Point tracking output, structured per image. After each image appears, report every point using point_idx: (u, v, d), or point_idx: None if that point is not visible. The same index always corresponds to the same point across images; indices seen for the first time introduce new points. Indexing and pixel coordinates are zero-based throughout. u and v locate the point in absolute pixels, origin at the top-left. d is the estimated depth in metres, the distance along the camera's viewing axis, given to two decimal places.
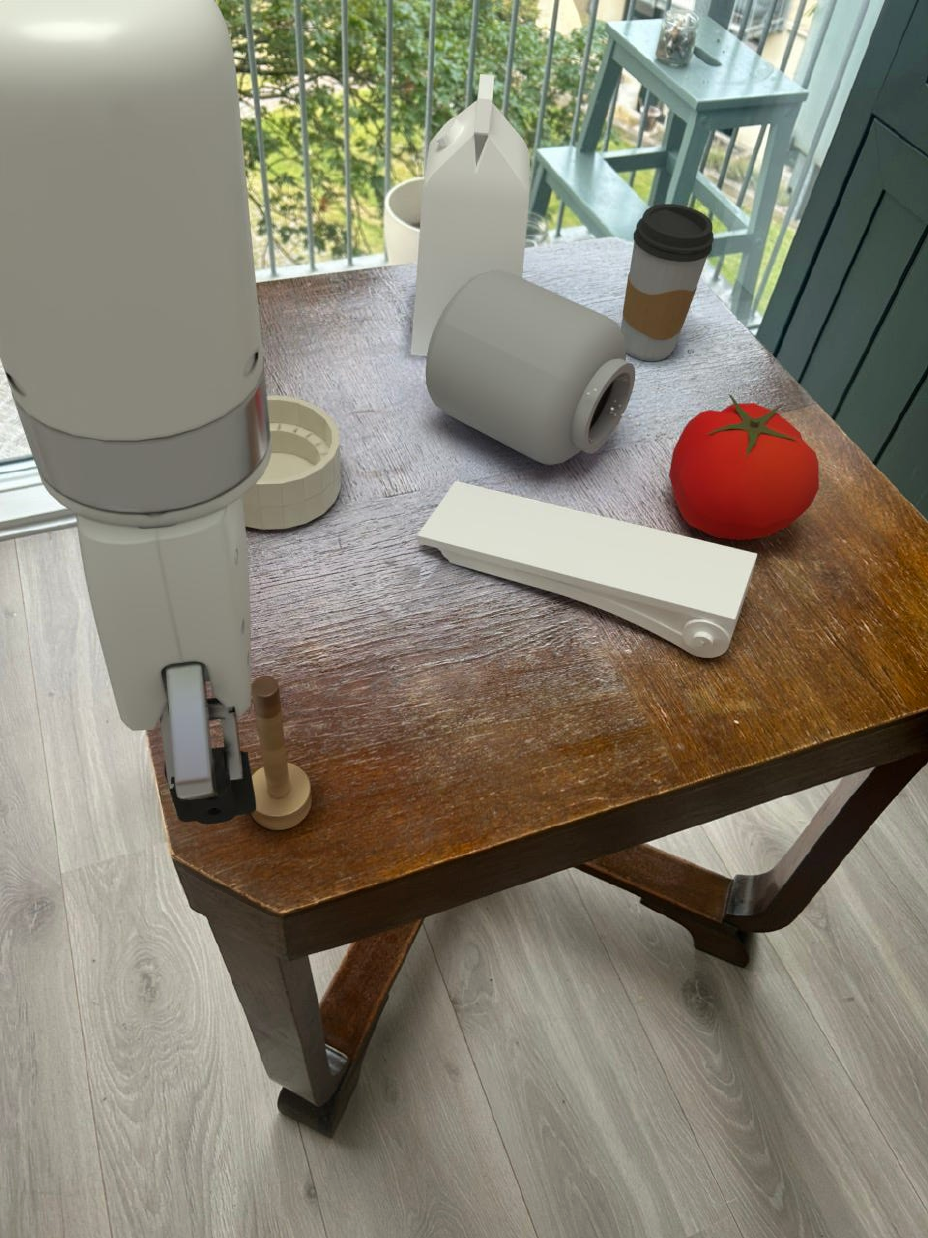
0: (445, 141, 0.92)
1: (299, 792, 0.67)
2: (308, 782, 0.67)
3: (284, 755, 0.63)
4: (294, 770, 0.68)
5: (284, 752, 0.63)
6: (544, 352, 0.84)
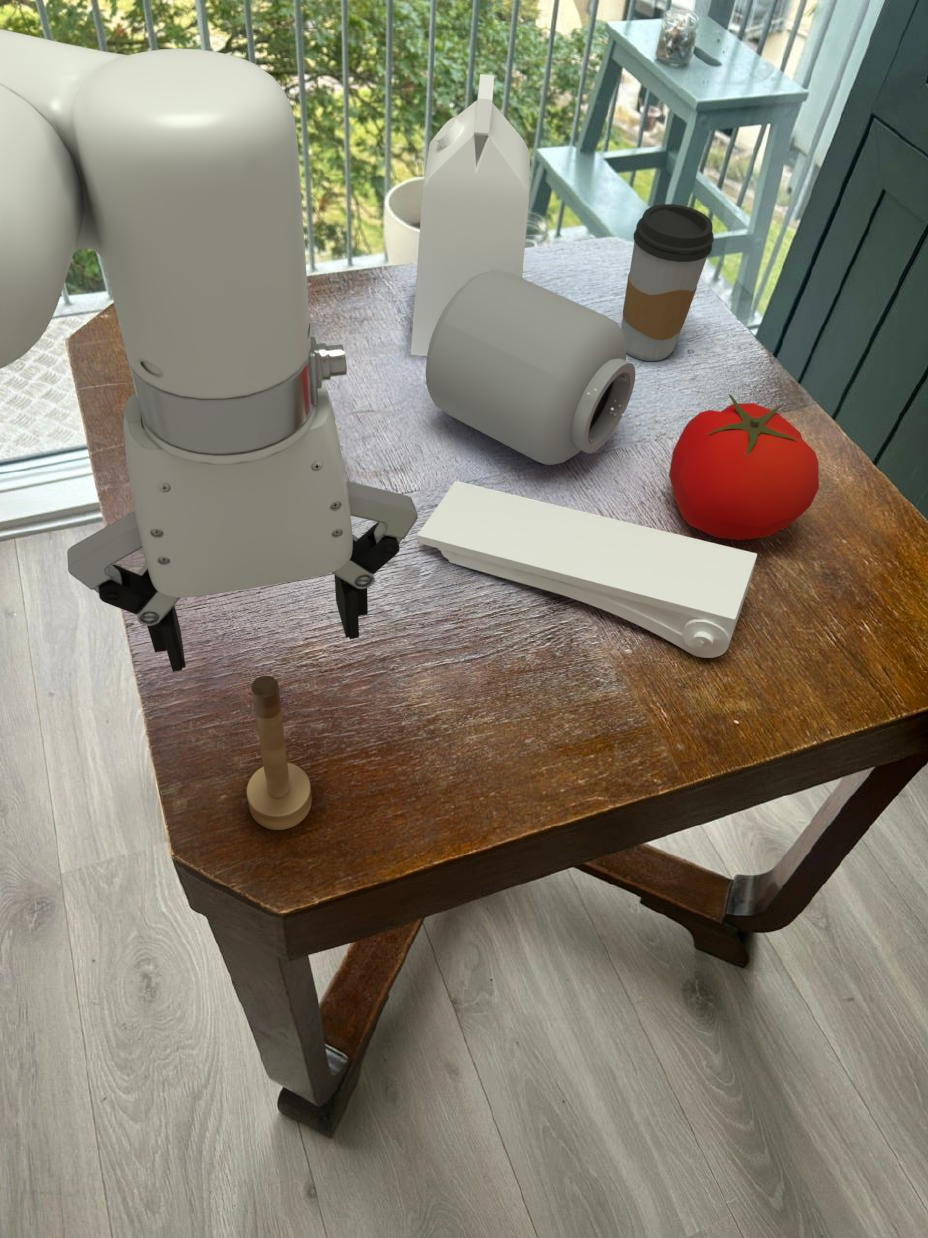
0: (445, 141, 0.92)
1: (299, 792, 0.67)
2: (308, 782, 0.67)
3: (284, 755, 0.63)
4: (294, 770, 0.68)
5: (284, 752, 0.63)
6: (544, 352, 0.84)
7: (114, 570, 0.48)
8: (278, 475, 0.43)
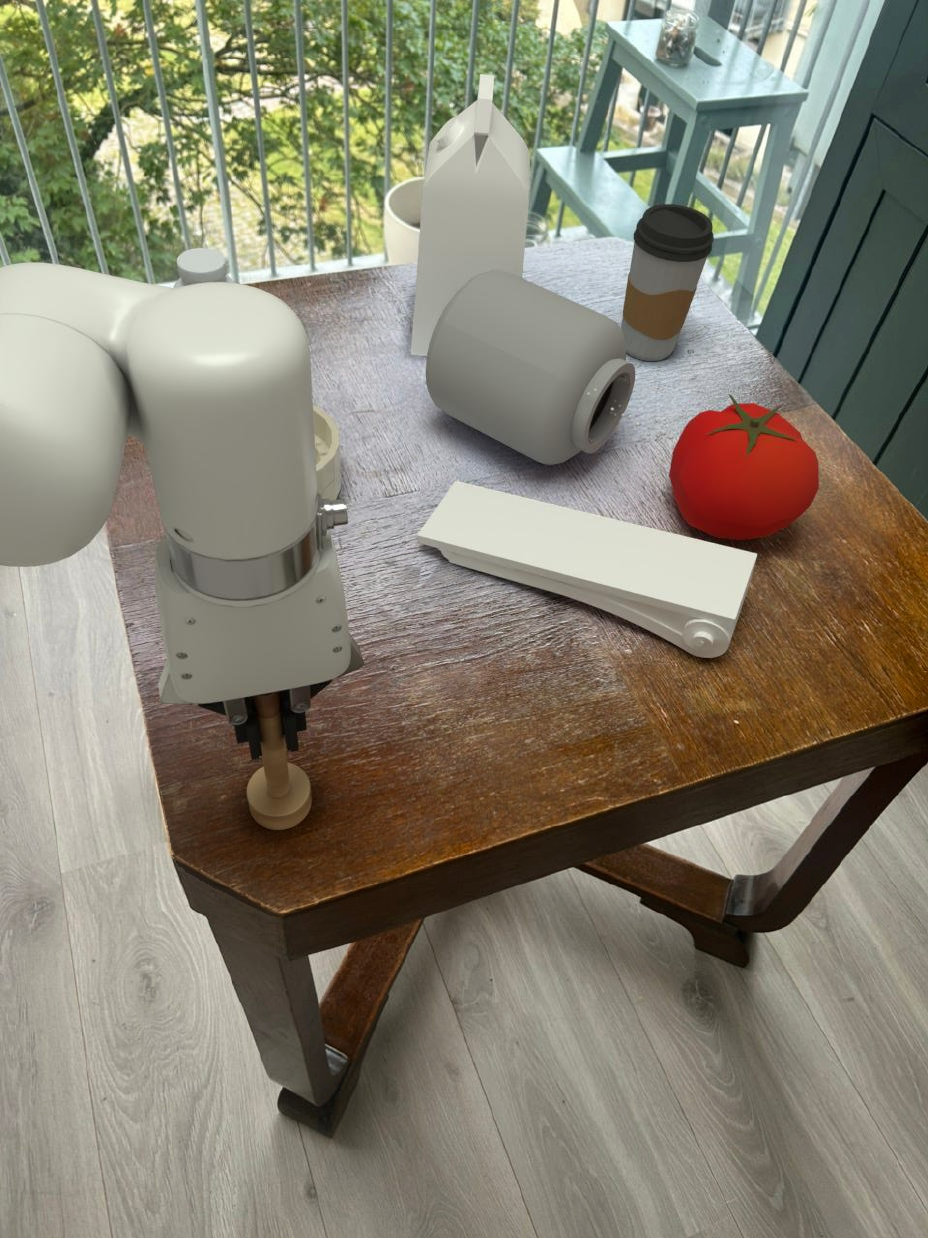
0: (445, 141, 0.92)
1: (299, 792, 0.67)
2: (308, 782, 0.67)
3: (284, 755, 0.63)
4: (294, 770, 0.68)
5: (284, 752, 0.63)
6: (544, 352, 0.84)
7: None
8: (288, 609, 0.49)
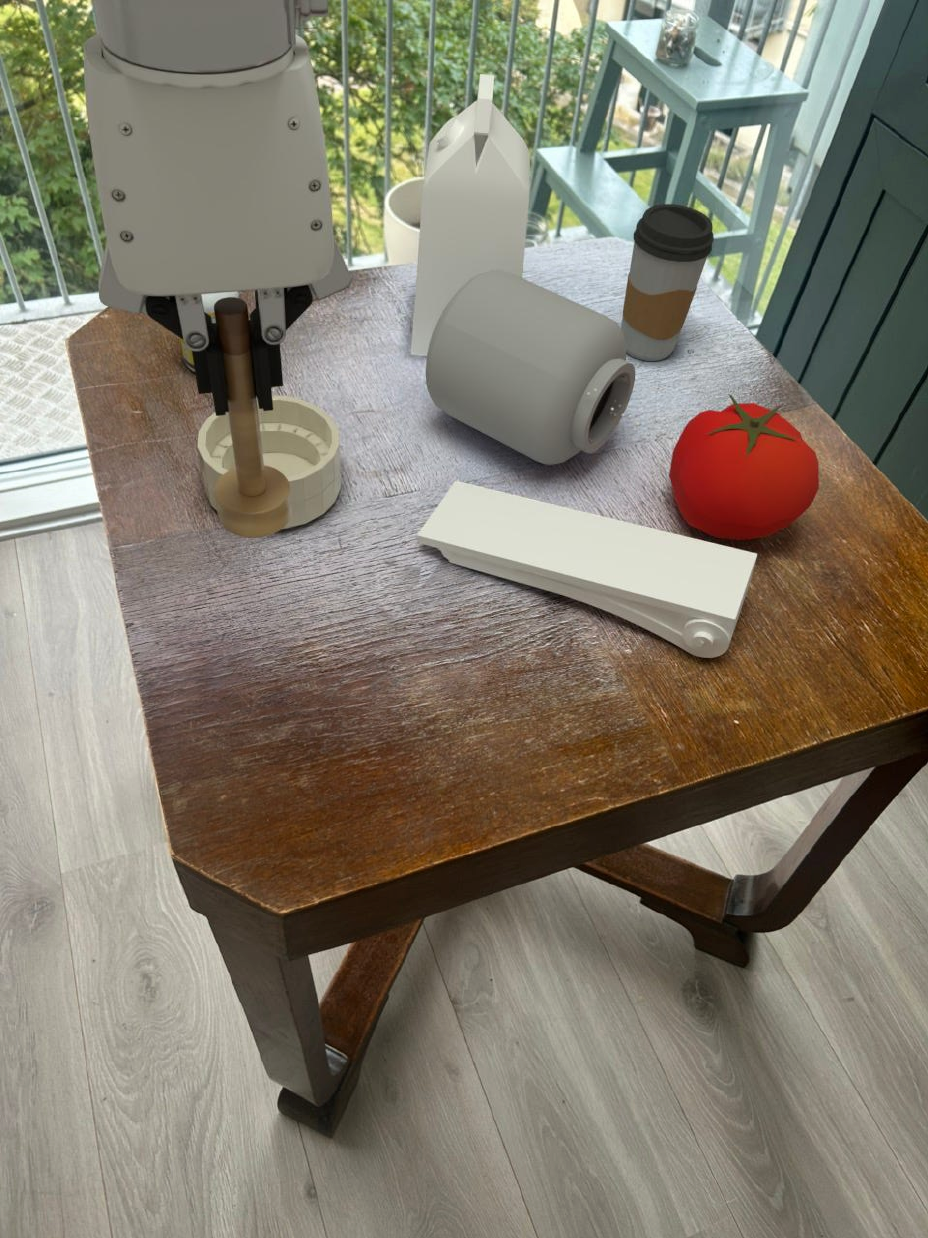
0: (445, 141, 0.92)
1: (277, 492, 0.56)
2: (288, 483, 0.57)
3: (257, 427, 0.53)
4: (272, 472, 0.57)
5: (257, 422, 0.52)
6: (544, 352, 0.84)
7: None
8: (251, 128, 0.39)
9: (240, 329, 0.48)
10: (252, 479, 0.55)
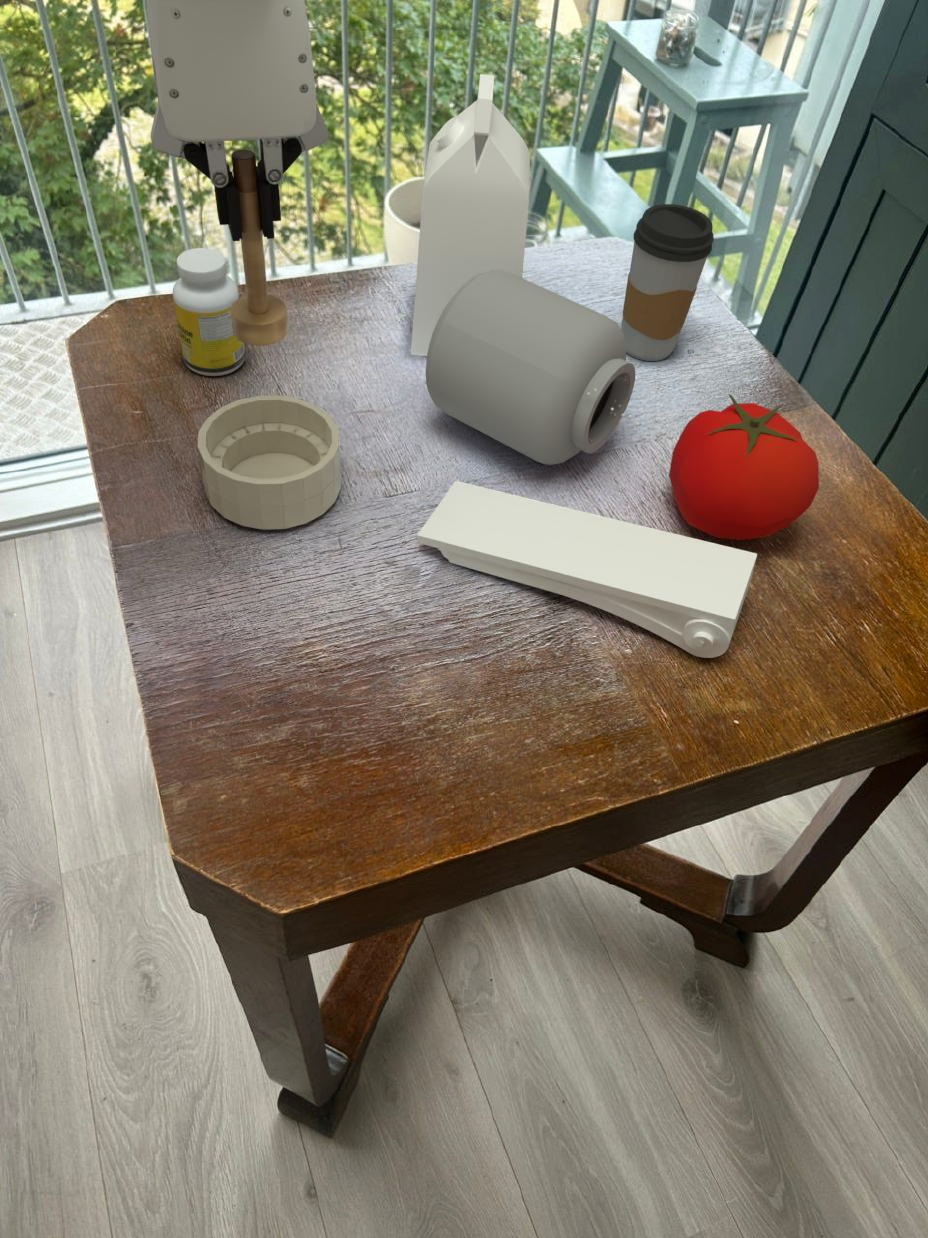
0: (445, 141, 0.92)
1: (277, 311, 0.75)
2: (285, 306, 0.76)
3: (262, 254, 0.72)
4: (272, 298, 0.76)
5: (262, 250, 0.72)
6: (544, 352, 0.84)
7: None
8: (259, 13, 0.58)
9: (250, 171, 0.67)
10: (258, 298, 0.74)
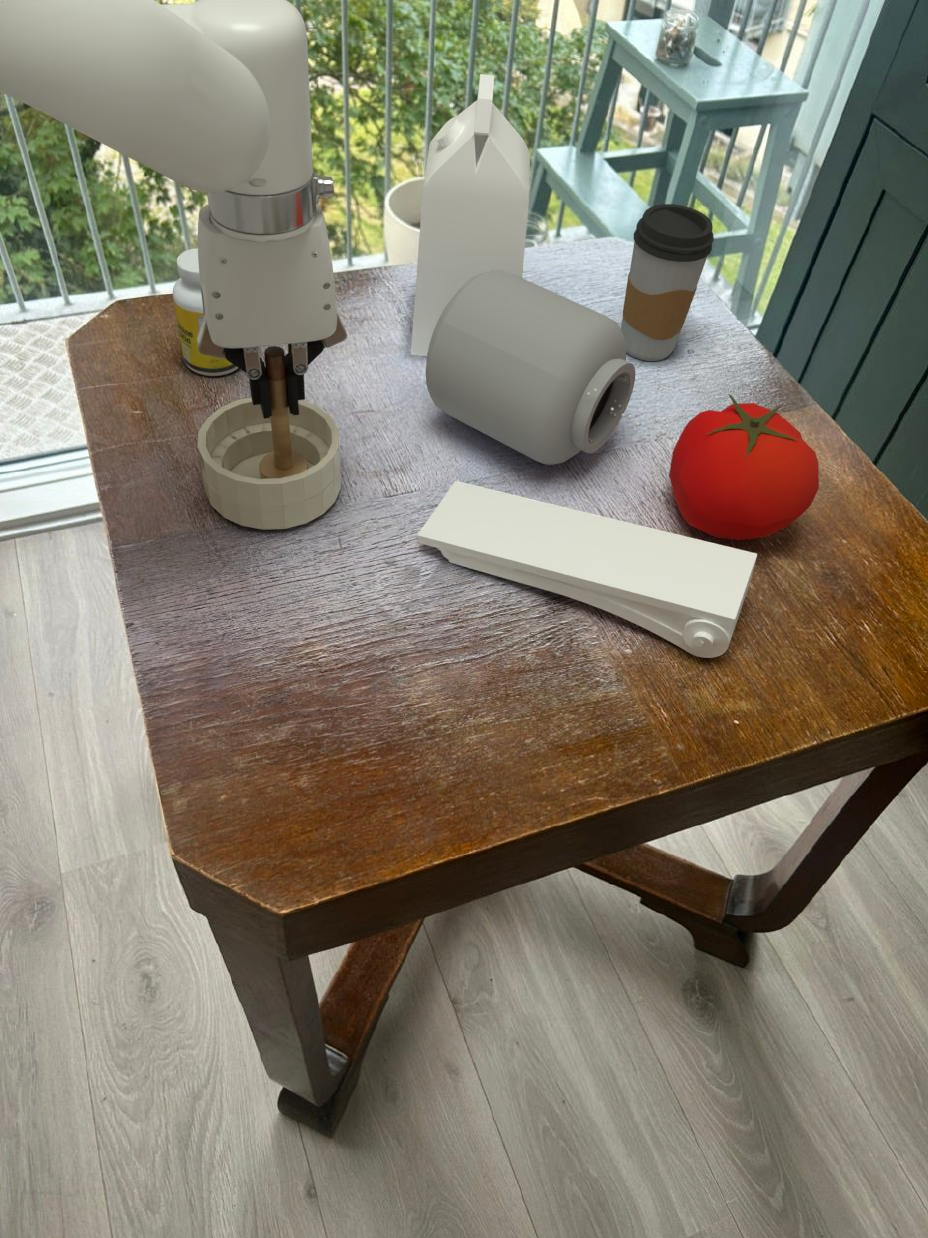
0: (445, 141, 0.92)
1: (299, 467, 0.87)
2: (306, 461, 0.88)
3: (288, 425, 0.84)
4: (295, 454, 0.88)
5: (288, 422, 0.83)
6: (544, 352, 0.84)
7: None
8: (291, 257, 0.70)
9: (280, 365, 0.79)
10: (284, 458, 0.86)
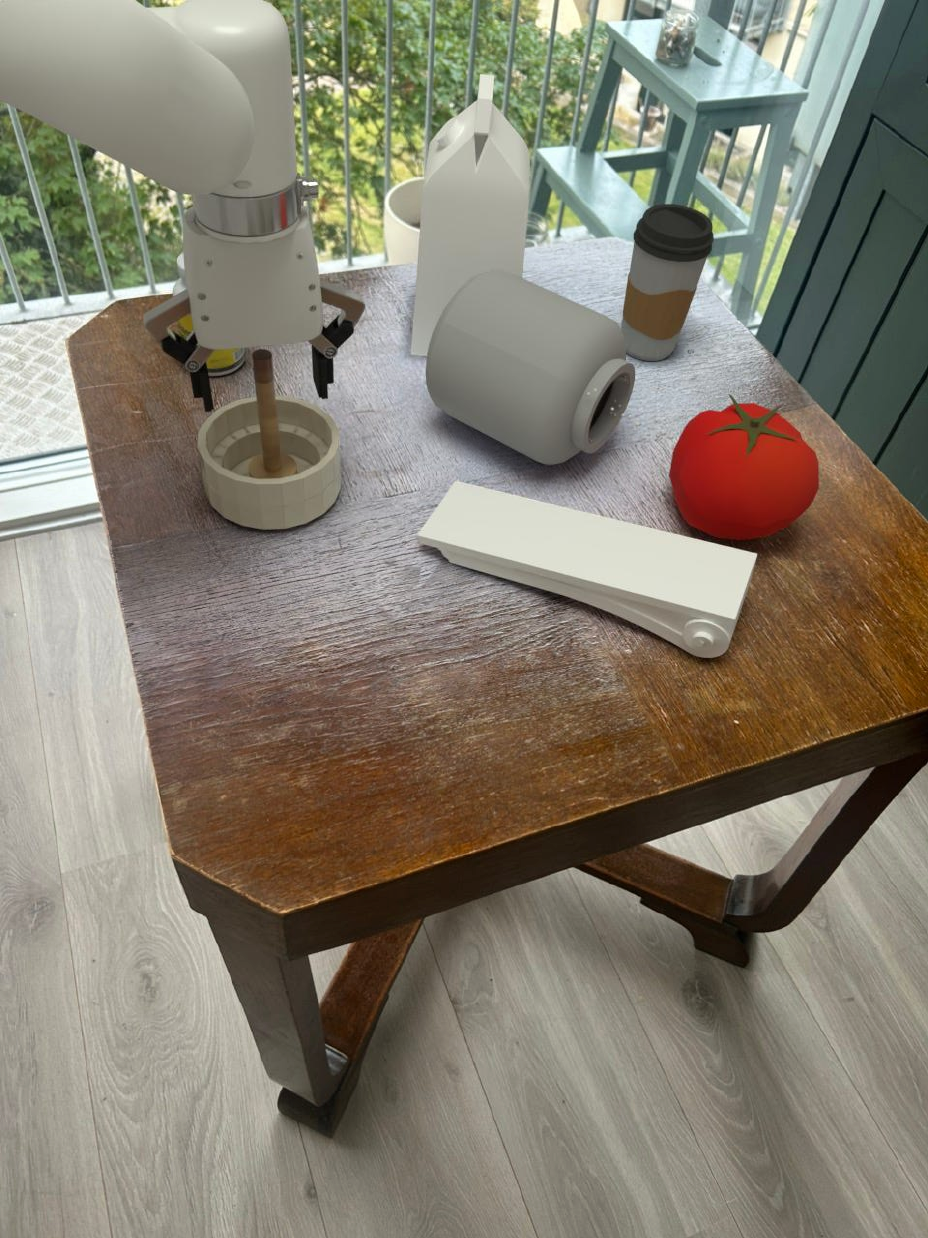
0: (445, 141, 0.92)
1: (288, 469, 0.88)
2: (295, 463, 0.88)
3: (276, 427, 0.84)
4: (284, 456, 0.89)
5: (276, 424, 0.84)
6: (544, 352, 0.84)
7: (171, 332, 0.75)
8: (276, 259, 0.70)
9: (268, 368, 0.79)
10: (273, 460, 0.86)
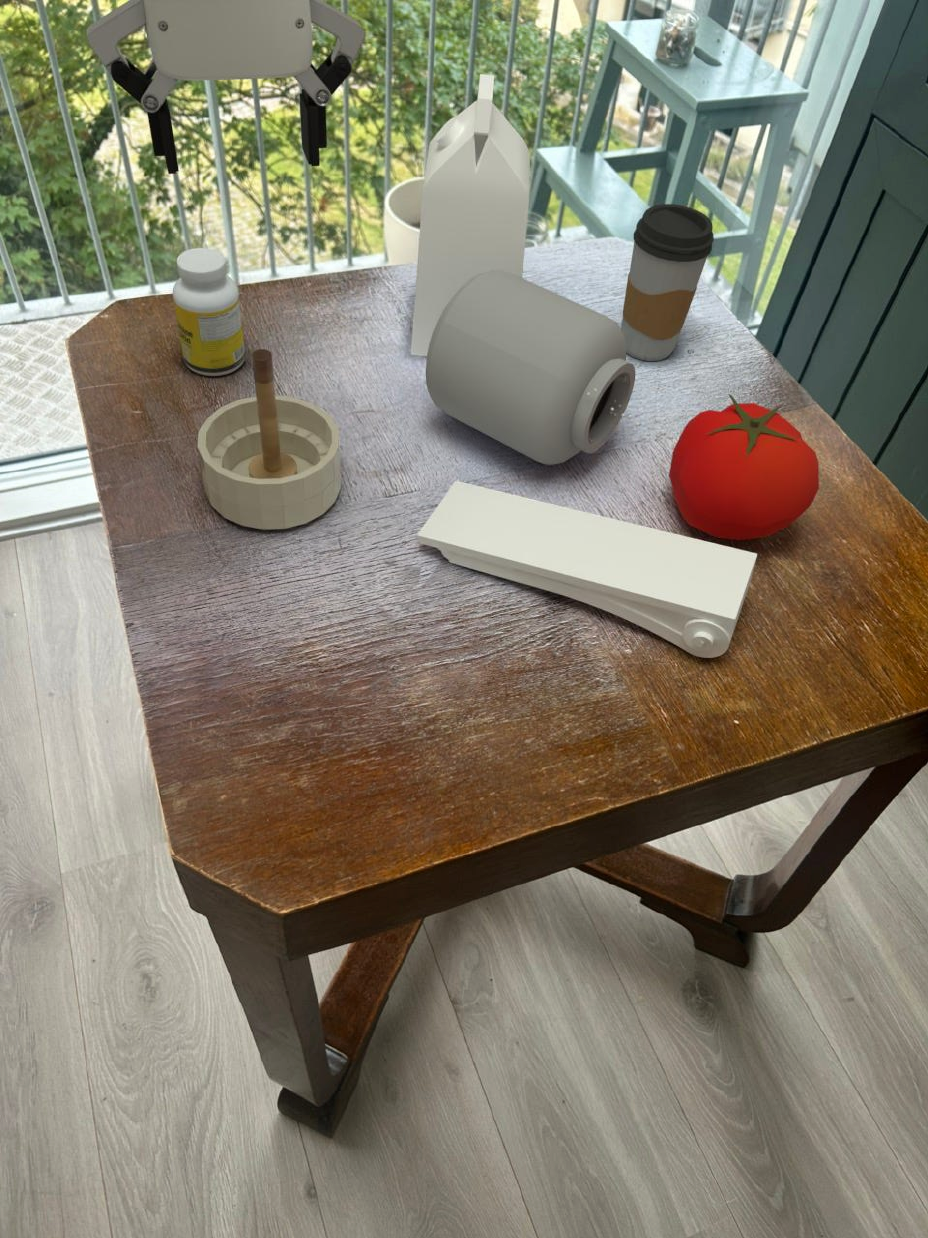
0: (445, 141, 0.92)
1: (288, 469, 0.88)
2: (295, 463, 0.88)
3: (276, 427, 0.84)
4: (284, 456, 0.89)
5: (276, 424, 0.84)
6: (544, 352, 0.84)
7: (123, 56, 0.60)
8: None
9: (268, 368, 0.79)
10: (273, 460, 0.86)
